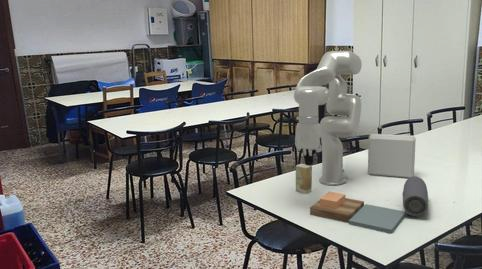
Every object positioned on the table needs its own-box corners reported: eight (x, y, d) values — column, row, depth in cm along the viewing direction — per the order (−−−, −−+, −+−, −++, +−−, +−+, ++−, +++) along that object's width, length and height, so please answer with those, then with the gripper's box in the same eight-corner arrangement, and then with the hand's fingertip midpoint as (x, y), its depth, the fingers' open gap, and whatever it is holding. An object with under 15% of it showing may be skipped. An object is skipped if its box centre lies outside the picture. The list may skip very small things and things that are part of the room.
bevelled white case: (414, 174, 209) (416, 134, 205) (413, 179, 202) (415, 138, 198) (369, 170, 218) (370, 132, 214) (367, 175, 211) (368, 136, 207)
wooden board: (327, 201, 181) (327, 194, 181) (363, 208, 172) (364, 201, 171) (310, 214, 169) (309, 207, 168) (348, 223, 160) (348, 215, 159)
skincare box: (295, 191, 195) (294, 165, 192) (301, 188, 198) (300, 163, 195) (306, 194, 190) (306, 167, 188) (312, 191, 193) (312, 165, 191)
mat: (365, 207, 173) (365, 204, 172) (405, 215, 164) (405, 211, 163) (348, 224, 159) (348, 220, 158) (391, 233, 150) (391, 229, 149)
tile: (329, 198, 176) (329, 191, 176) (345, 201, 172) (345, 194, 172) (319, 205, 169) (319, 198, 169) (336, 209, 165) (336, 201, 165)
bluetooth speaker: (402, 196, 182) (403, 174, 180) (426, 198, 179) (427, 175, 177) (401, 218, 162) (402, 193, 160) (428, 220, 158) (429, 195, 156)
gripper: (287, 120, 170) (288, 164, 174) (322, 123, 162) (322, 169, 166) (296, 117, 176) (297, 160, 180) (330, 119, 168) (330, 164, 172)
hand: (309, 164), depth 173 cm, fingers closed
